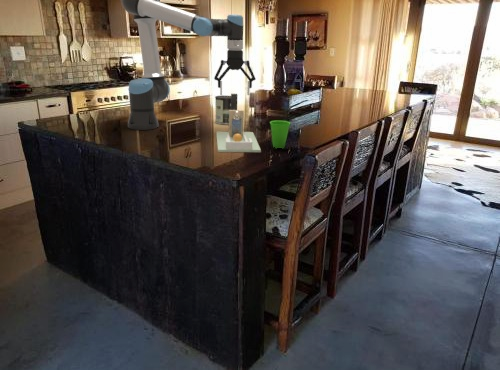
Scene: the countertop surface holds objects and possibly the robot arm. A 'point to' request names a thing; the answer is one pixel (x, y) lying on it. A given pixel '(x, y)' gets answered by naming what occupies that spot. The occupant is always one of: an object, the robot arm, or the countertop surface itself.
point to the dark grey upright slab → (235, 122)
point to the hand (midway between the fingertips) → (234, 94)
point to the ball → (237, 137)
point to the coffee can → (223, 109)
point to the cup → (279, 133)
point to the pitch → (229, 145)
